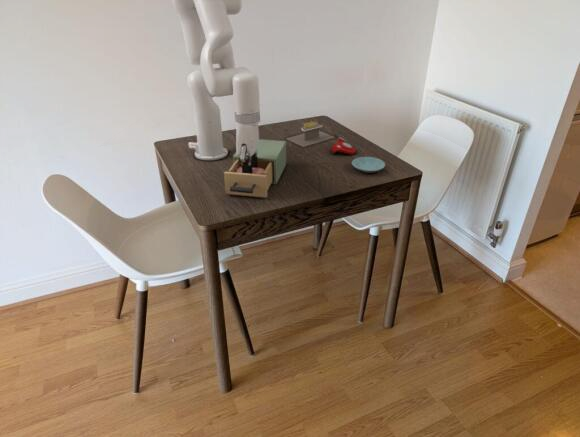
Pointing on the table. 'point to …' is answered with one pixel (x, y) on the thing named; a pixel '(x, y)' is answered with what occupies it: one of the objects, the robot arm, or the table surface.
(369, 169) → the saucer
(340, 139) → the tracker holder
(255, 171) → the pink notched rounded block
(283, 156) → the cabinet
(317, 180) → the table surface
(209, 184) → the table surface
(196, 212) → the table surface
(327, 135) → the platform
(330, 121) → the table surface
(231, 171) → the drawer
